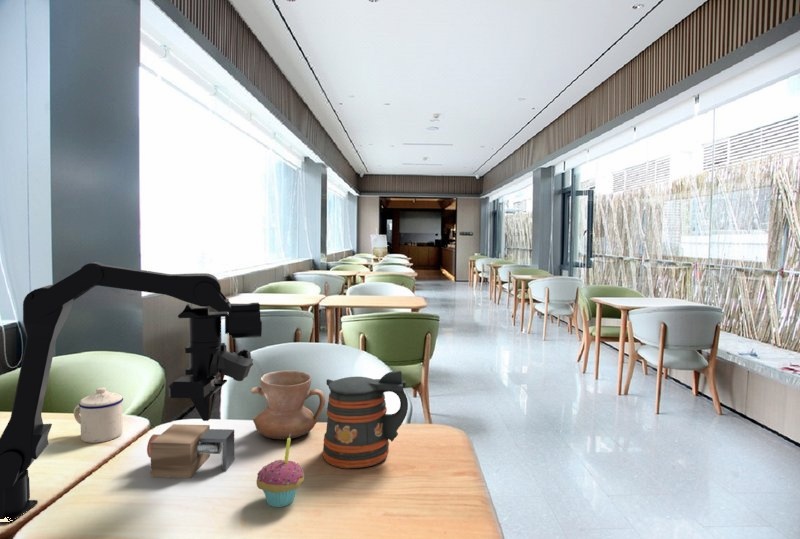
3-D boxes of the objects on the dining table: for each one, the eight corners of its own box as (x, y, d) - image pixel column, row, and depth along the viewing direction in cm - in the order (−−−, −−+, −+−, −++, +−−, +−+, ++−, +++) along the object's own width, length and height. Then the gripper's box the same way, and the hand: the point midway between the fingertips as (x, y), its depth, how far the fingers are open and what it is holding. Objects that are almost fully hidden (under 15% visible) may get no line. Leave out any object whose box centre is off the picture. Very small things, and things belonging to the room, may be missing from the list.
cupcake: (285, 484, 100) (285, 424, 99) (314, 499, 94) (314, 436, 94) (247, 502, 93) (246, 438, 92) (275, 519, 88) (275, 451, 87)
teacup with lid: (132, 430, 126) (131, 384, 125) (104, 445, 117) (102, 395, 116) (90, 426, 128) (89, 380, 127) (59, 440, 119) (58, 391, 118)
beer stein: (412, 445, 119) (413, 361, 118) (402, 474, 105) (404, 379, 104) (333, 439, 122) (334, 357, 121) (313, 466, 108) (314, 373, 107)
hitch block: (190, 477, 102) (190, 443, 102) (150, 476, 102) (150, 442, 102) (209, 456, 112) (209, 425, 112) (173, 455, 112) (173, 424, 112)
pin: (215, 462, 105) (215, 441, 104) (147, 461, 105) (146, 439, 104) (223, 453, 109) (223, 432, 109) (158, 452, 109) (157, 431, 109)
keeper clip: (226, 470, 105) (226, 438, 105) (199, 470, 105) (199, 438, 105) (234, 459, 110) (234, 429, 110) (209, 459, 110) (208, 429, 110)
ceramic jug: (242, 444, 118) (243, 384, 117) (258, 421, 133) (259, 367, 132) (320, 446, 119) (321, 387, 118) (327, 423, 133) (328, 369, 132)
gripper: (230, 351, 88) (231, 440, 89) (261, 331, 106) (261, 404, 107) (166, 350, 88) (167, 439, 89) (208, 330, 106) (209, 404, 108)
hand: (206, 420), depth 98 cm, fingers closed
